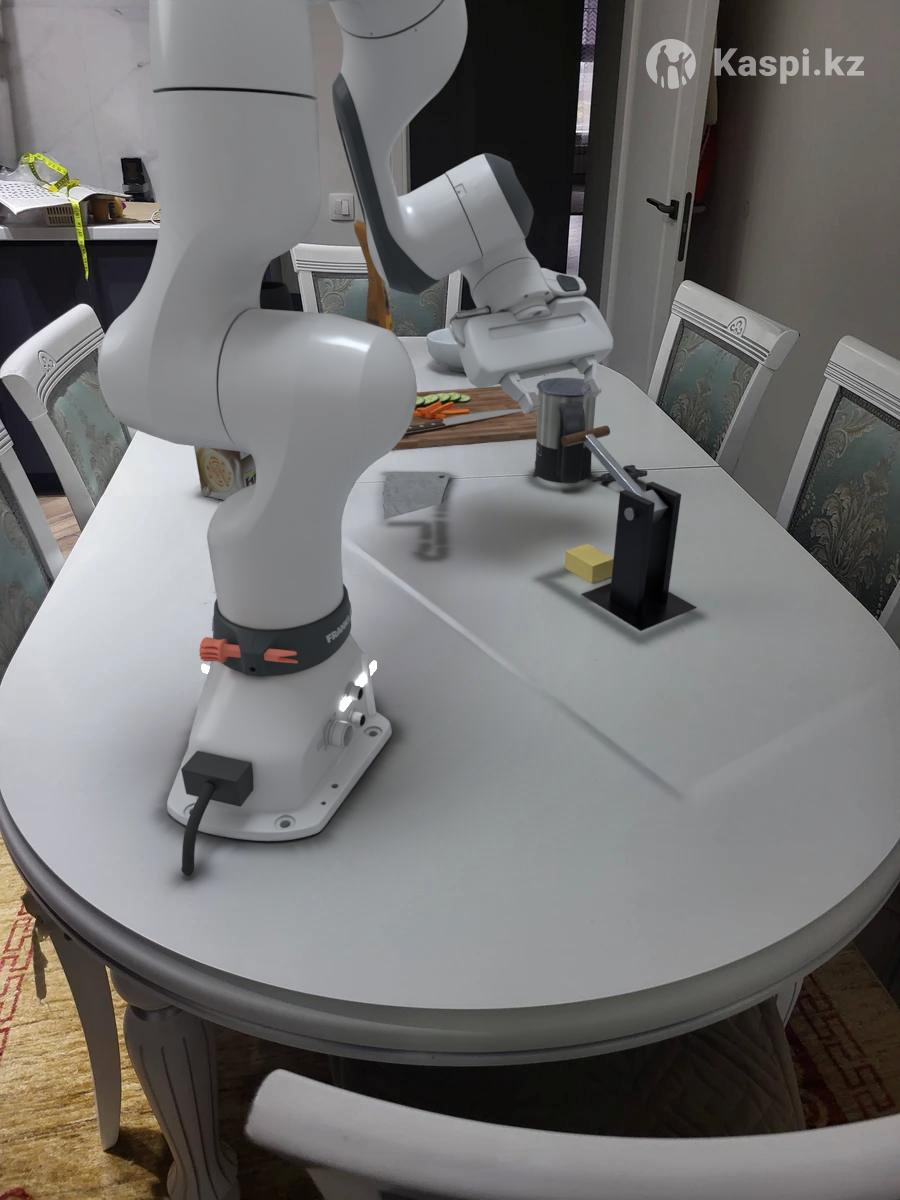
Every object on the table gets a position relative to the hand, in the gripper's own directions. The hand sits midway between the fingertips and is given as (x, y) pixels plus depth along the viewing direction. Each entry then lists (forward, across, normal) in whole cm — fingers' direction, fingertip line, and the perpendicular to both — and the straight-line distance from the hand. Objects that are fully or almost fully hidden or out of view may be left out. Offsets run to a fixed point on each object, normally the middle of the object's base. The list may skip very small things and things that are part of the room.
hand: (564, 402), depth 104 cm
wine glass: (-50, +2, +80) cm, 94 cm away
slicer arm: (+11, 0, -2) cm, 11 cm away
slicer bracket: (+25, 0, +4) cm, 26 cm away
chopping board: (-24, +17, +54) cm, 62 cm away
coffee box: (-16, -25, +46) cm, 55 cm away
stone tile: (-2, -7, +31) cm, 32 cm away
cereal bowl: (-42, +43, +72) cm, 94 cm away
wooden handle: (-58, +34, +88) cm, 110 cm away
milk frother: (+2, +21, +27) cm, 35 cm away
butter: (+18, 0, +10) cm, 21 cm away
